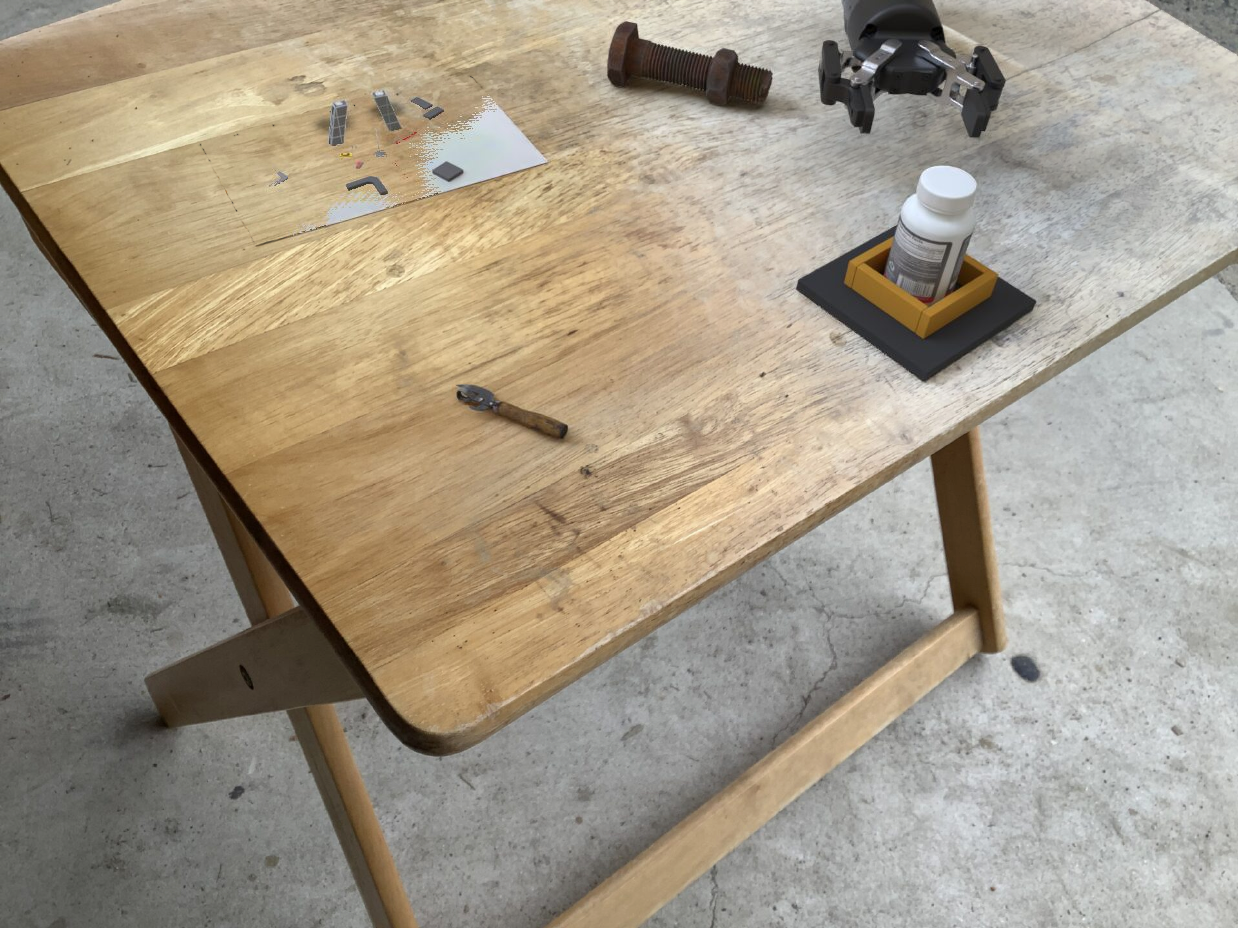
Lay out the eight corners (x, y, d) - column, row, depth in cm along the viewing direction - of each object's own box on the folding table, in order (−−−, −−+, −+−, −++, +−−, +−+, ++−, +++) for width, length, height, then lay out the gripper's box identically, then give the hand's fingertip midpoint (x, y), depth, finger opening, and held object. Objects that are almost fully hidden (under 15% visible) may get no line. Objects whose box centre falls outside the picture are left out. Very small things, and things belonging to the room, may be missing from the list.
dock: (1033, 310, 84) (1046, 278, 82) (924, 382, 79) (935, 350, 76) (904, 228, 91) (914, 196, 88) (795, 289, 85) (802, 256, 83)
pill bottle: (921, 259, 87) (954, 152, 79) (965, 299, 84) (1004, 191, 76) (866, 278, 85) (895, 171, 77) (910, 320, 82) (944, 212, 74)
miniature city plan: (255, 246, 86) (244, 207, 83) (198, 143, 95) (187, 104, 93) (548, 162, 95) (547, 124, 92) (471, 75, 104) (468, 38, 101)
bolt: (760, 128, 103) (610, 92, 105) (775, 81, 104) (625, 47, 106) (762, 95, 97) (603, 58, 100) (778, 46, 98) (620, 10, 101)
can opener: (570, 433, 74) (569, 421, 73) (550, 454, 73) (550, 443, 72) (463, 381, 77) (462, 369, 76) (443, 401, 76) (441, 389, 75)
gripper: (816, -24, 91) (840, 77, 81) (984, -18, 92) (1031, 84, 81) (801, 60, 97) (822, 165, 86) (960, 65, 97) (1001, 170, 87)
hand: (923, 125), depth 84 cm, fingers open, 8 cm apart
